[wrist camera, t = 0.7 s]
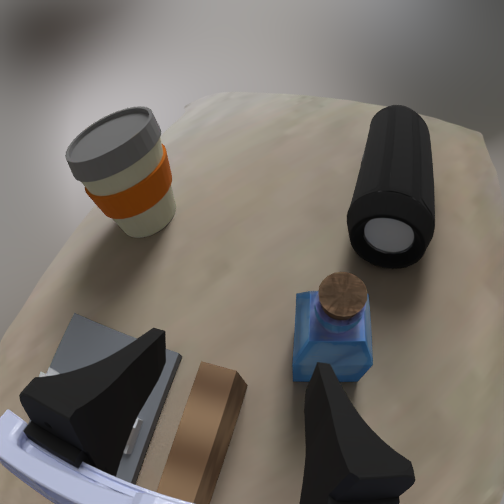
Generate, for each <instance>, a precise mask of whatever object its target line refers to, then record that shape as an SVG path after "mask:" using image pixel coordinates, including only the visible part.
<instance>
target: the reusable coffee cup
mask: <svg viewBox="0 0 504 504" xmlns="http://www.w3.org/2000/svg"><path fill="white" fill-rule="evenodd" d="M160 136H161V129H160V127H159V125H158V123H157V121H156V119H155V117H154V115H153V113H152V111H151V109H149V108H147V107H132V108H127V109H123V110H121V111H117V112H115V113H112V114H110V115H108V116H106V117H104V118H102V119H100V120H98V121H97V122H95V123H93V124H92V125H91V126H89V127H88V128H87V129H85V130H84V131H83V132H81V133H80V134H79V135H78V136H77V137H76V138H75V139H74V140H73V142H72V143H71V144H70V146H69V147H68V149H67V151H66V155H65V156H66V160H67V162H68V164H69V167H70V169H71V171H72V173H73V176H74V177H75V179H76V180H79V181H81V182H82V183H83V185H84V186H85V191H86V193H87V194H88V195H89V197H90V198H91V199H92V200H93V201H94V203H95V204H96V205H97V206H98V207H99V208H100V209H101V211H102V212H103V213H104V214H105V215H106V216H108V217H110V218H112V219H113V220H114V221H115V222H116V223H117V224H118V225H119V227H120V228H121V229H122V230H123V231H124V232H125V233H126V234H127V235H129V236H130V237H134V238H142V237H147V236H150V235H153V234H155V233H157V232H158V231H160V230H161V229H163V228H164V227H165V226H166V225H167V224H168V223H169V222H170V221H171V219H172V218H173V216H174V214H175V211H176V203H175V199H174V195H173V191H172V187H171V182H172V174H171V170H170V166H169V161H168V156H167V152H166V148H165V146H164V145H163V144H162V143H161V139H160Z"/></svg>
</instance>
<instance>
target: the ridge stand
mask: <svg viewBox="0 0 504 504" xmlns="http://www.w3.org/2000/svg"><path fill="white" fill-rule="evenodd" d="M136 339H137V338H134V337H131V336H129V335H126V334H124V333H121V332H118V331H116V330H113V329H111V328H109V327H106V326H104V325H101V324H99V323H97V322H94V321H92V320H90V319H87V318H85V317H83V316H81V315H78V314H76V313H74V315H73V317H72V319H71V321H70V323H69V325H68V327H67V329H66V331H65V334H64V336H63V338H62V340H61V342H60V344H59V347H58V349H57V351H56V353H55V356H54V358H53V360H52V363H51V365H50V367H49V369H48V371H47V374H45V373H43V372H41V373H40V375H39V377H44V376H52V375H57V374H62V373H66V372H70V371H74V370H77V369H80V368H83V367H86V366H89V365H91V364H94V363H96V362H98V361H100V360H102V359H105V358H107V357H108V356H110V355H112V354H114V353H115V352H117V351H119V350H121V349H122V348H124V347H125V346H127V345H129V344H130V343H132V342H133V341H135V340H136ZM181 358H182V356H181V355H180V354H179V353H177V352H174V351H171V350H168V349H166V363H165V366H164V368H163V371H162V373H161V376H160V378H159V380H158V382H157V384H156V385H155V387H154V389H153V391H152V392H151V394H150V396H149V397H148V399H147V401H146V402H145V404H144V406H143V408H142V409H141V411H140V413H139V415H138V417H137V419H136V421H135V424H134V426H133V429H132V431H131V434H130V436H129V439H128V441H127V444H126V447H125V450H124V452H123V455H122V458H121V461H120V465H119V468H118V471H117V475H116V477H117V478H119V479H122V480H124V481H127V482H129V483H132V484H134V485H135V483H136V480H137V477H138V474H139V472H140V469H141V466H142V463H143V460H144V457H145V455H146V452H147V449H148V446H149V443H150V441H151V438H152V435H153V432H154V430H155V427H156V424H157V421H158V419H159V416H160V413H161V411H162V408H163V405H164V403H165V400H166V397H167V395H168V392H169V389H170V387H171V384H172V381H173V379H174V376H175V373H176V371H177V368H178V366H179V363H180V360H181ZM30 422H31V420H30V421H29V423H30Z"/></svg>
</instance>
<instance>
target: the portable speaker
mask: <svg viewBox="0 0 504 504" xmlns="http://www.w3.org/2000/svg"><path fill="white" fill-rule="evenodd" d="M347 226H348V232H349V237H350V242H351V245H352V247H353V249H354V250H355V252H356V253H357V254H358V255H359V256H360V257H362V258H363V259H364V260H366V261H368V262H369V263H371V264H374V265H376V266H380V267H384V268H392V269H394V268H404V267H408V266H410V265H413V264H414V263H416V262H417V261H418V260H420V259H421V257H422V256H423V254H424V253H425V251H426V249H427V247H428V245H429V243H430V241H431V239H432V237H433V233H434V229H435V203H434V178H433V163H432V152H431V142H430V134H429V130H428V127H427V125H426V123H425V121H424V120H423V119H422V118H421V116H420V115H418V114H417V113H416V112H415V111H413V110H412V109H410V108H408V107H406V106H402V105H392V106H388V107H386V108H384V109H382V110H380V111H379V112H378V113H377V114H376V115H375V116H374V117H373V119H372V121H371V124H370V130H369V134H368V139H367V143H366V147H365V151H364V154H363V157H362V161H361V168H360V171H359V175H358V179H357V183H356V187H355V190H354V194H353V198H352V201H351V205H350V208H349V210H348V214H347Z"/></svg>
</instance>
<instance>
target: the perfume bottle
mask: <svg viewBox="0 0 504 504" xmlns="http://www.w3.org/2000/svg"><path fill="white" fill-rule="evenodd" d="M317 362H320V363H328V364H330V365H331V366H332V368H333V370H334V373H335V375H336V376H337V378H338V380H339V382H358V381H359V379H360V378H361V377H362V376H363V375H364V374H365V373H366V372H367V371H368V370H369V368H370V367H371V366H372V365H373V357H372V334H371V318H370V305H369V294H368V293H367V289H366V286H365V285H364V283H363V282H362V280H361V279H359V278H358V277H357V276H355V275H353V274H351V273H346V272H337V273H333V274H331V275H329V276H327V277H326V278H325V279H324V280H323V281H322V283H321V284H320V286H319V291H308V292H303V293H298V294H296V315H295V333H294V350H293V365H292V366H293V381H298V382H310V380H311V377H312V374H313V372H314V369H315V367H316V364H317Z"/></svg>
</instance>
